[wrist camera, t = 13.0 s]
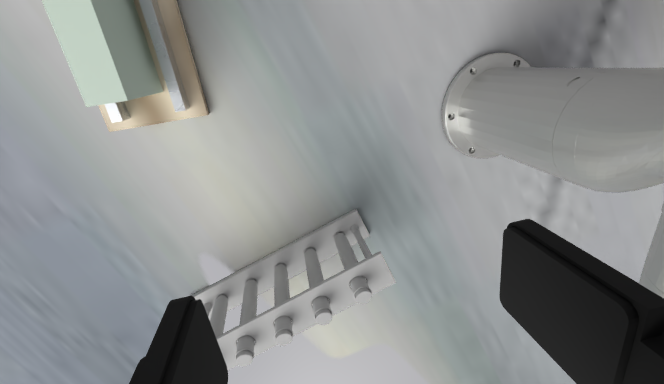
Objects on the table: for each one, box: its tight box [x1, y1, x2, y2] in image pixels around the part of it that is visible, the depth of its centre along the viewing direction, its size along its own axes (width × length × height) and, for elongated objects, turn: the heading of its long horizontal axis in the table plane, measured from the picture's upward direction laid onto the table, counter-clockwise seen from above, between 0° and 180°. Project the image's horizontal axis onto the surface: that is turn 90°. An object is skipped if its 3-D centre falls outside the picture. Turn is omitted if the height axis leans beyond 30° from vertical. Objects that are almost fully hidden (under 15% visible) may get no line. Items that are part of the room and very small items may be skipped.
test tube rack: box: [192, 209, 396, 370], centre depth 38 cm, size 25×4×13 cm, turn 116°
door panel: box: [42, 0, 163, 107], centre depth 27 cm, size 3×12×9 cm, turn 8°
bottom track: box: [98, 0, 209, 132], centre depth 30 cm, size 10×18×3 cm, turn 9°
